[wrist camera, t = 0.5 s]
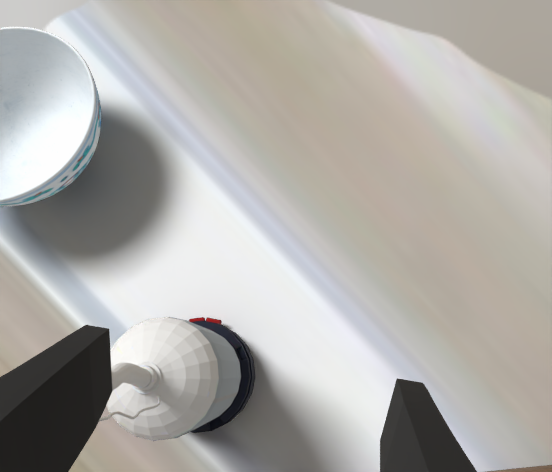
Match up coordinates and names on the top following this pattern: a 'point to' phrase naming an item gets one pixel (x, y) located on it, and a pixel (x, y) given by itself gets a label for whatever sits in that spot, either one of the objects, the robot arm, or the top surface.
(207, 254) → the top surface
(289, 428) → the top surface
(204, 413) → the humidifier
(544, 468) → the board
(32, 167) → the chinaware
